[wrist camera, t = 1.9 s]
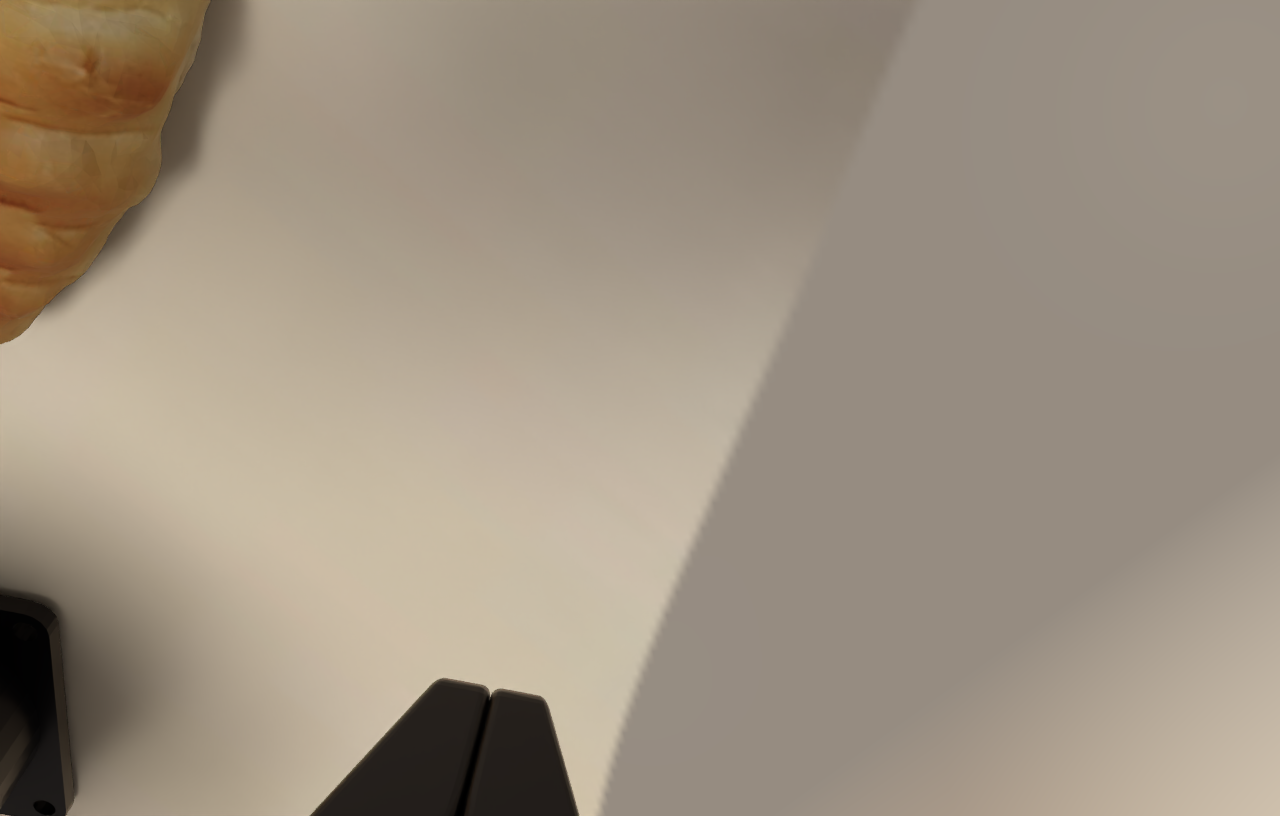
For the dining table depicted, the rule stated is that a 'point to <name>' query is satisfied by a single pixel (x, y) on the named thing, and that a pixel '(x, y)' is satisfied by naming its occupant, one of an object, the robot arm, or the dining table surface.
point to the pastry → (79, 131)
